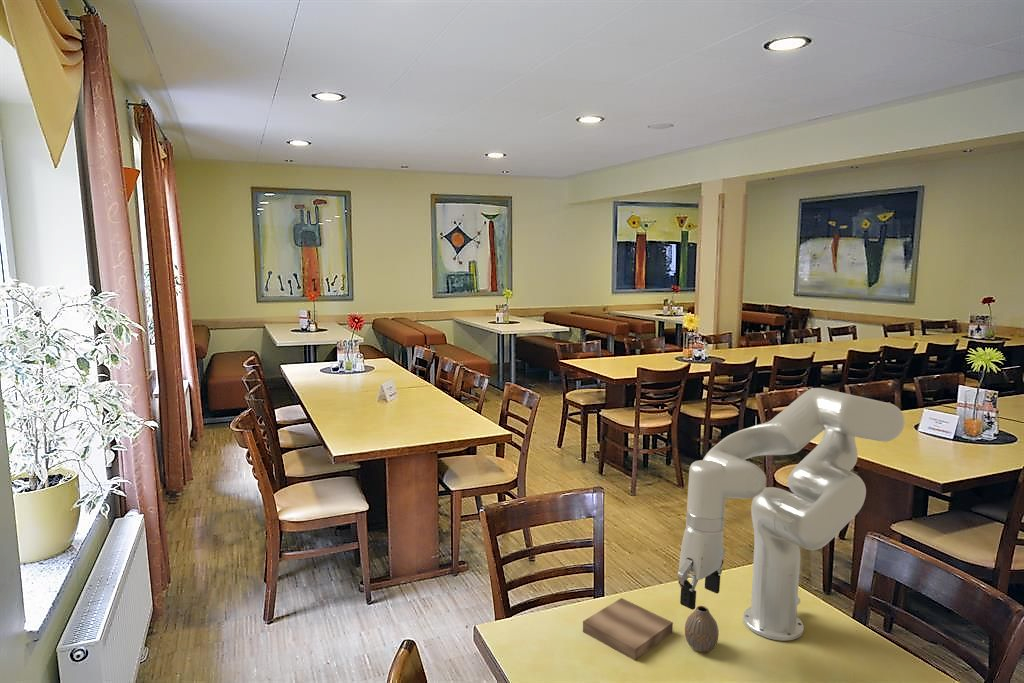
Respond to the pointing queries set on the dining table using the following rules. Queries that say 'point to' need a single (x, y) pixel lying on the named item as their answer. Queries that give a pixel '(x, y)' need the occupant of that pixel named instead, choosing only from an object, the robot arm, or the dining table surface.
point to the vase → (701, 630)
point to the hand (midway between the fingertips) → (699, 598)
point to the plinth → (628, 628)
